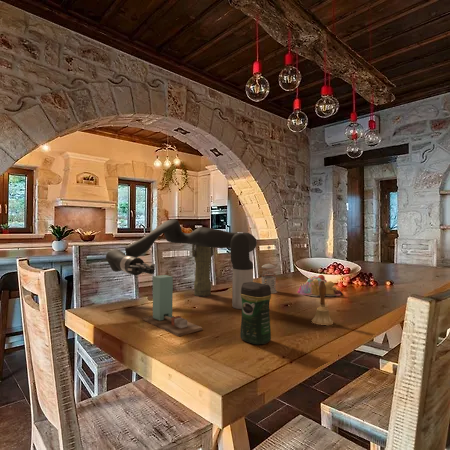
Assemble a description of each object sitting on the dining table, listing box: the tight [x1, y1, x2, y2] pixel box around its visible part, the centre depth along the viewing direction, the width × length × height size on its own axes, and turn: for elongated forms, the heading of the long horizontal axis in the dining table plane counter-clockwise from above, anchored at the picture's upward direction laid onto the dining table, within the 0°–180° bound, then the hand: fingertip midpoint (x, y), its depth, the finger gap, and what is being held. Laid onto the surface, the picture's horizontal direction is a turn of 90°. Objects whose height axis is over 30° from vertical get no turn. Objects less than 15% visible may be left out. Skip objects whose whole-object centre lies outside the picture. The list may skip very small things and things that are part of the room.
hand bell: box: [310, 281, 334, 325], centre depth 123 cm, size 8×8×16 cm
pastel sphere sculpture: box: [297, 274, 343, 297], centre depth 177 cm, size 25×24×9 cm
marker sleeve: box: [152, 274, 174, 321], centre depth 124 cm, size 5×6×16 cm
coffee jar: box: [239, 281, 272, 345], centre depth 104 cm, size 10×8×19 cm
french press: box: [261, 246, 278, 294], centre depth 178 cm, size 10×12×25 cm
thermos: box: [191, 244, 215, 297], centre depth 170 cm, size 9×12×35 cm
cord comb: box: [142, 315, 203, 337], centre depth 119 cm, size 24×10×4 cm, turn 43°
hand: (152, 271), depth 129 cm, fingers closed
